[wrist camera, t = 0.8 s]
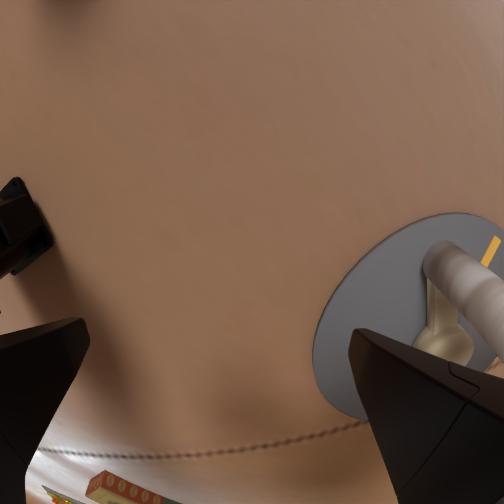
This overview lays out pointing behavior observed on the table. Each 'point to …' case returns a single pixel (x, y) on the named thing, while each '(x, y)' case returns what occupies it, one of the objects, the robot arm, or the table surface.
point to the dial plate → (396, 299)
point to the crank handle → (460, 304)
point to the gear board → (60, 497)
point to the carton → (121, 491)
